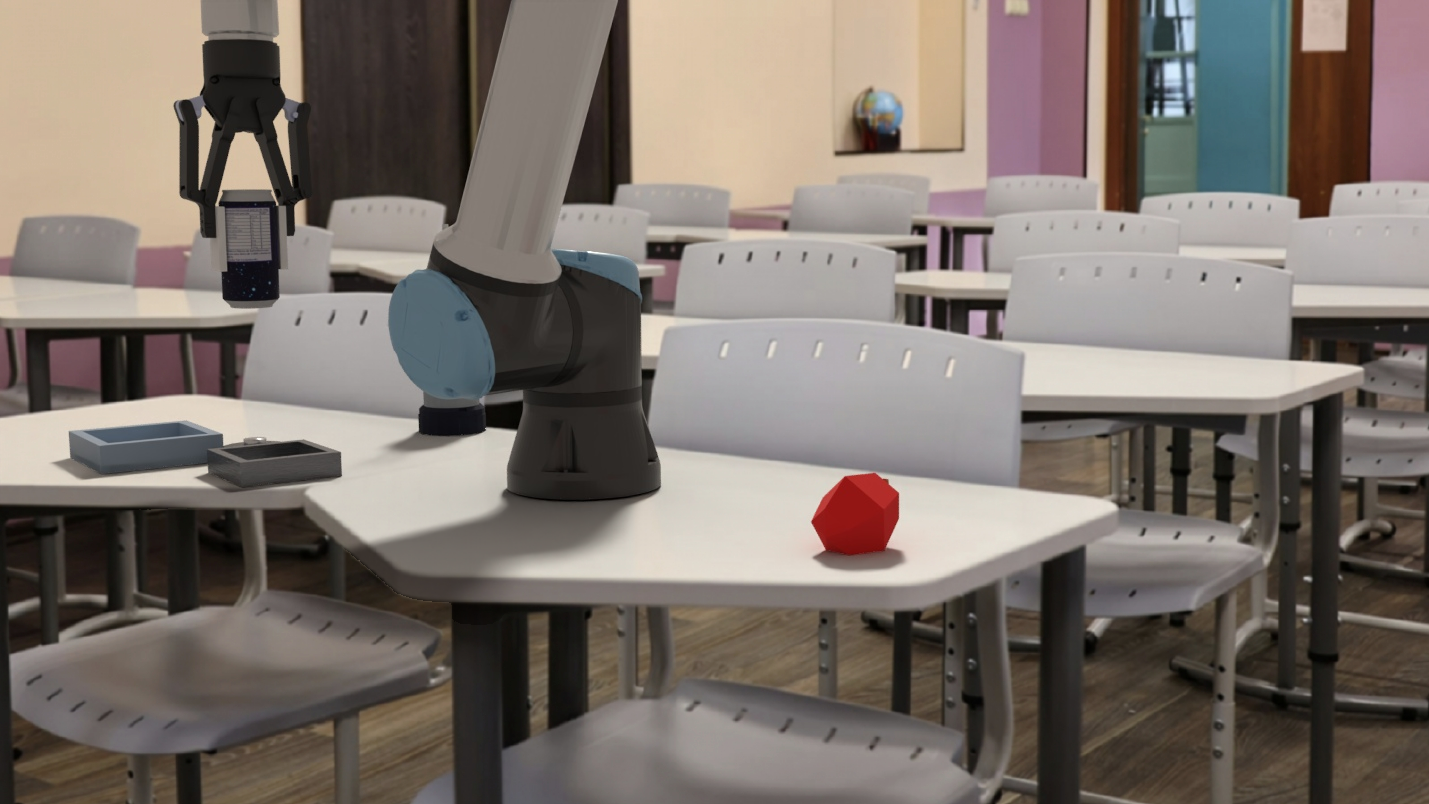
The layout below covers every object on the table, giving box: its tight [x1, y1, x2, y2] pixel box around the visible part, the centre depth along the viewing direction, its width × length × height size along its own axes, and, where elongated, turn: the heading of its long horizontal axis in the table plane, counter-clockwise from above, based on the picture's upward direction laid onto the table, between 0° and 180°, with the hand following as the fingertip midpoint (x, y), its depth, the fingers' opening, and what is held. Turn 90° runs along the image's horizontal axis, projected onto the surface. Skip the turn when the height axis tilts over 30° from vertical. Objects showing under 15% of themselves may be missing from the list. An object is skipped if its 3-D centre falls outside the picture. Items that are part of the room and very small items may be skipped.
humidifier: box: [417, 223, 487, 437], centre depth 196 cm, size 8×8×25 cm
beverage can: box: [217, 188, 280, 310], centre depth 167 cm, size 6×6×12 cm
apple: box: [810, 472, 900, 556], centre depth 131 cm, size 7×7×8 cm
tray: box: [68, 420, 224, 475], centre depth 178 cm, size 13×13×3 cm
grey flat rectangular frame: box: [207, 436, 343, 488], centre depth 171 cm, size 17×10×3 cm, turn 35°
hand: (249, 269), depth 167 cm, fingers closed on beverage can, 6 cm apart
